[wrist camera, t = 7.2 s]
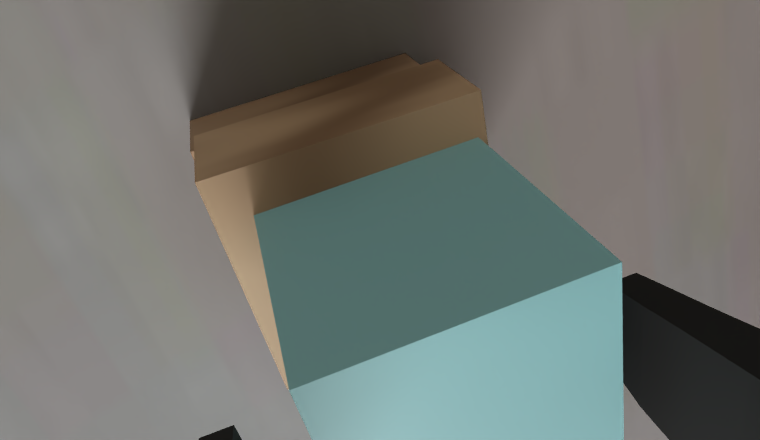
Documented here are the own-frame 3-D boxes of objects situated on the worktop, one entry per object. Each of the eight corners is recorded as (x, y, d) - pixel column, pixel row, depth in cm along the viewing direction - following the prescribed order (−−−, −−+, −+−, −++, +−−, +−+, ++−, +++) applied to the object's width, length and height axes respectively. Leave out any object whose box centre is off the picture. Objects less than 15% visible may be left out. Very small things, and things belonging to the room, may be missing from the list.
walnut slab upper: (437, 59, 14) (481, 90, 12) (470, 255, 17) (508, 306, 15) (193, 136, 14) (195, 182, 11) (275, 325, 17) (287, 389, 15)
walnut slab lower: (400, 49, 16) (431, 74, 14) (436, 225, 20) (466, 266, 18) (189, 116, 16) (190, 151, 14) (262, 286, 19) (272, 337, 17)
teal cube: (478, 137, 13) (622, 261, 8) (504, 309, 15) (623, 468, 11) (253, 215, 12) (289, 390, 8) (321, 379, 15) (374, 575, 11)
